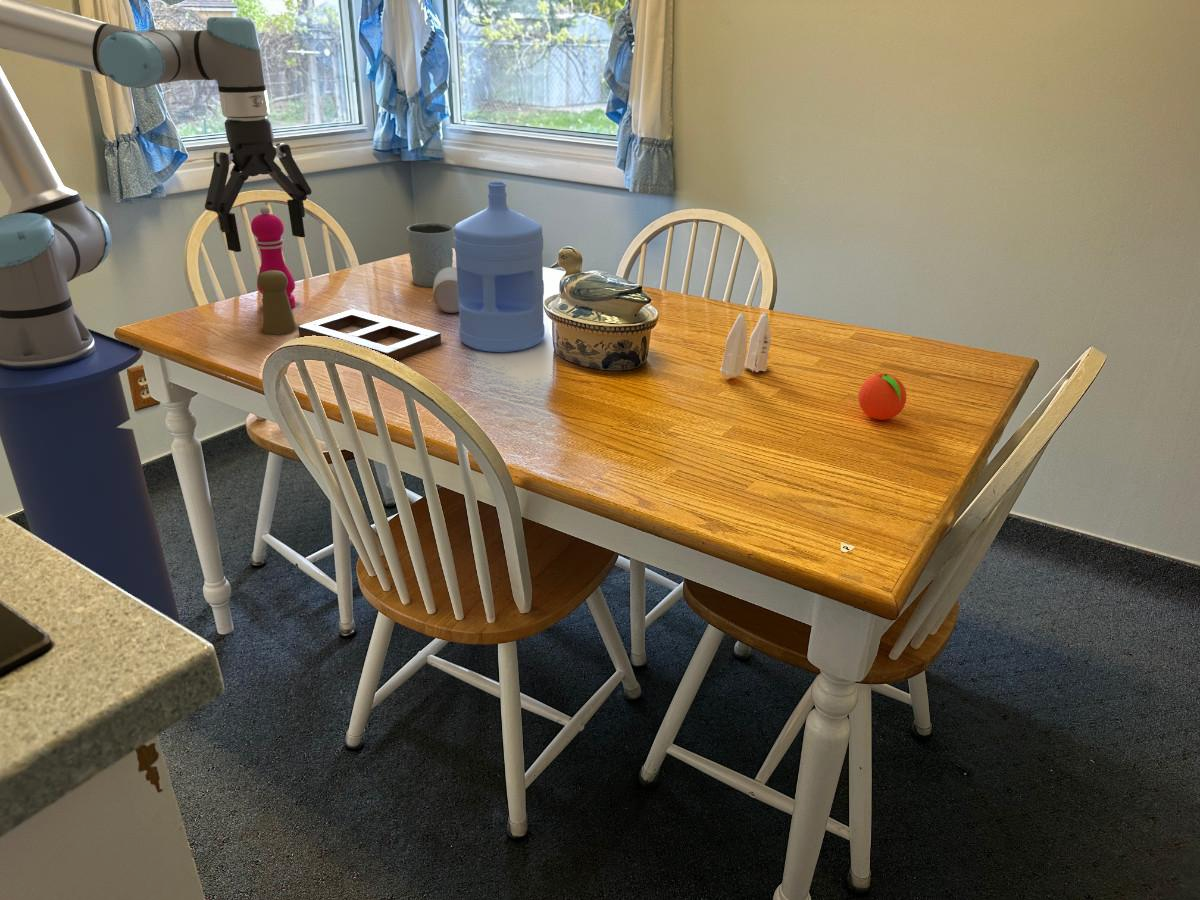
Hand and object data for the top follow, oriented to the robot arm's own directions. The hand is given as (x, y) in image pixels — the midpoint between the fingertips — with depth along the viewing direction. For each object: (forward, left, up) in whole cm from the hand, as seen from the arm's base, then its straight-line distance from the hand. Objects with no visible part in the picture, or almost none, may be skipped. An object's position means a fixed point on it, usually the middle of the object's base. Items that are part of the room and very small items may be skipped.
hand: (267, 243), depth 158 cm
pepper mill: (-12, +9, -16) cm, 22 cm away
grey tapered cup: (0, +41, -16) cm, 44 cm away
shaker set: (+81, +32, -16) cm, 88 cm away
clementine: (+106, +28, -16) cm, 111 cm away
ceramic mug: (+18, +30, -16) cm, 38 cm away
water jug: (+37, +21, -16) cm, 45 cm away
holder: (+18, +6, -16) cm, 25 cm away
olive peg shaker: (0, 0, -16) cm, 16 cm away
